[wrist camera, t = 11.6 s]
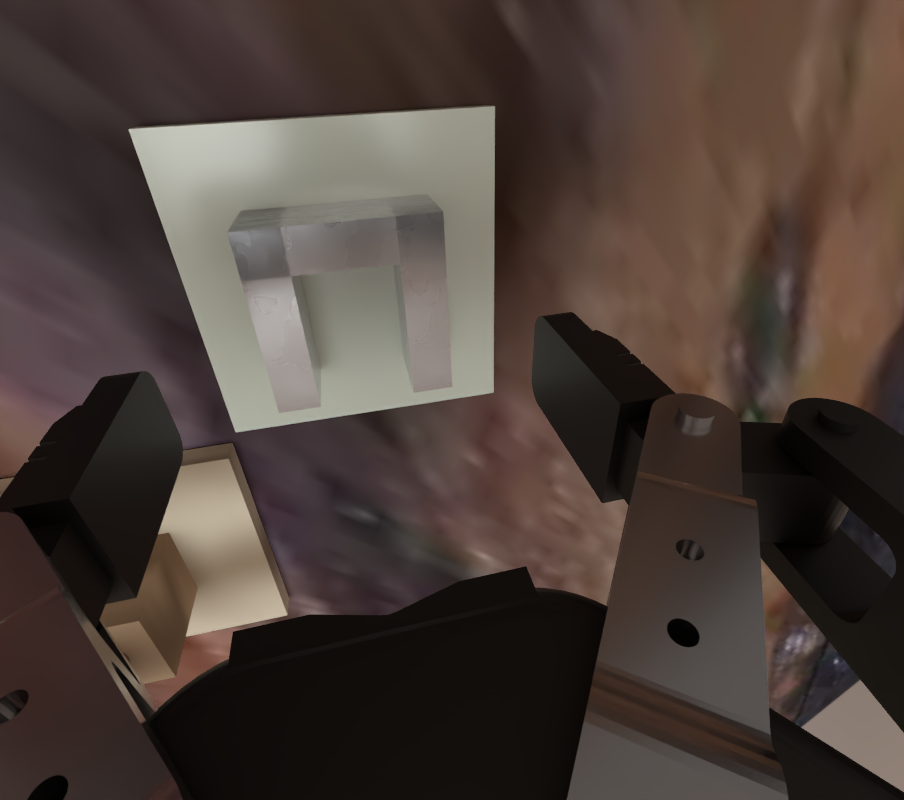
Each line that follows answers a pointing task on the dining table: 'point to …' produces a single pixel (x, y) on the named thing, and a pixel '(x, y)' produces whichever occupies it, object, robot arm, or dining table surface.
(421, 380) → the c link
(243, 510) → the post stand
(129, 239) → the dining table surface
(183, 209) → the coaster
